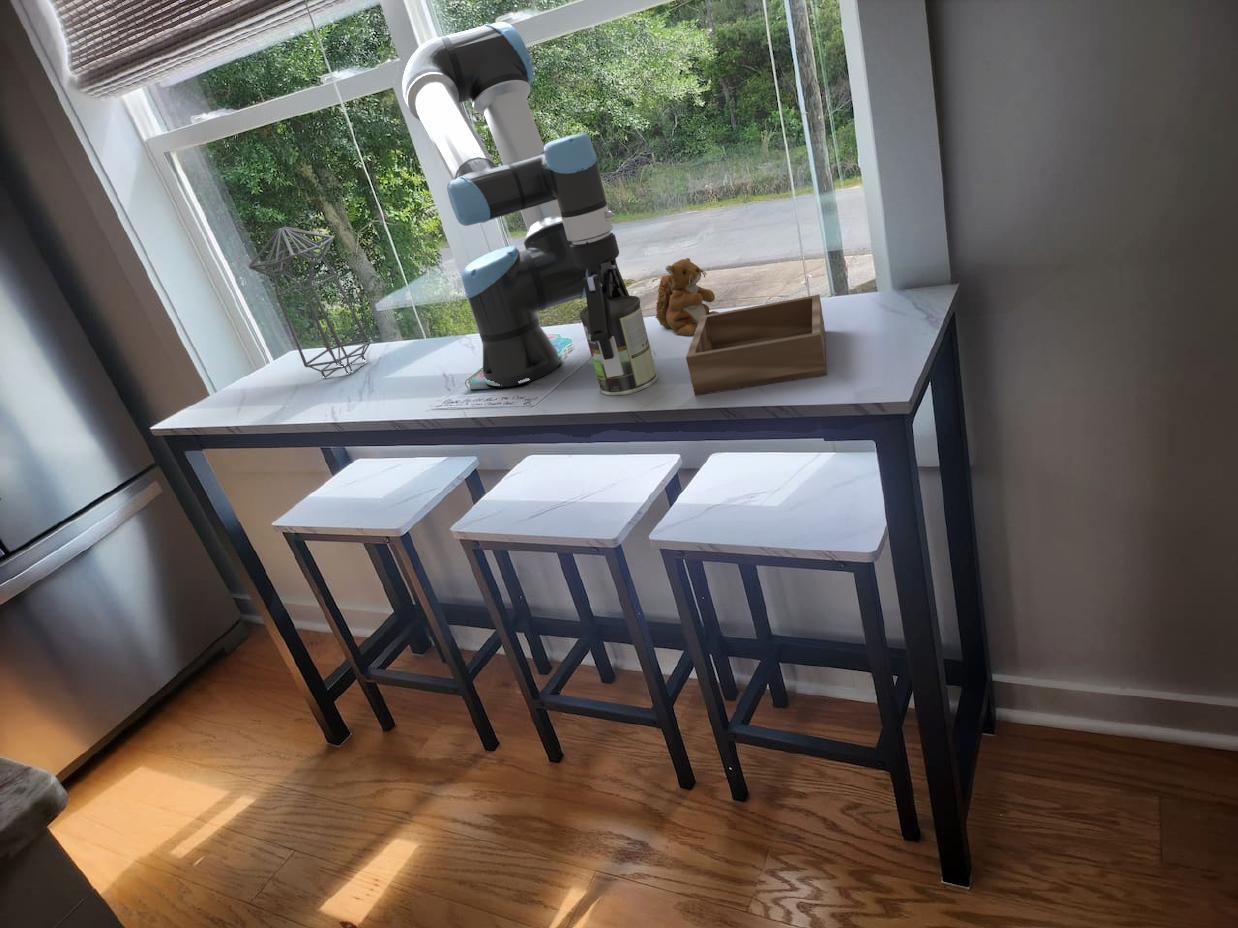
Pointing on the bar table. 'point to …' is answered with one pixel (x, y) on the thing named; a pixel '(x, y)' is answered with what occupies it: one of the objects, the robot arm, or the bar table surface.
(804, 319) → the walnut box
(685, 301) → the stuffed squirrel
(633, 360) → the coffee can
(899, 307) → the bar table surface
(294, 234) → the geometric lantern
